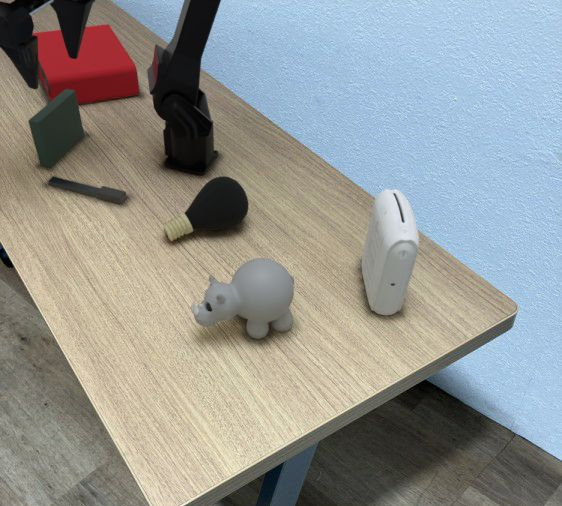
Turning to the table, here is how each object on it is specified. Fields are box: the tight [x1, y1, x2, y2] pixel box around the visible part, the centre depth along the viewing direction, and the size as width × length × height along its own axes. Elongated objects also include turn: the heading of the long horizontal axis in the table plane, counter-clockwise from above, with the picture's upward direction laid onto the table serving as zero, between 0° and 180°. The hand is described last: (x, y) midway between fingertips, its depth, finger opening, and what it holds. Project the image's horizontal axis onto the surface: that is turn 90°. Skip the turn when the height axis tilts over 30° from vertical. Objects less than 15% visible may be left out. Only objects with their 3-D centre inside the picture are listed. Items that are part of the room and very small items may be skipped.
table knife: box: [47, 176, 128, 205], centre depth 86 cm, size 11×2×1 cm, turn 72°
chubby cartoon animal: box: [190, 257, 295, 340], centre depth 69 cm, size 7×12×8 cm, turn 112°
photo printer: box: [361, 188, 420, 316], centre depth 73 cm, size 10×4×12 cm, turn 4°
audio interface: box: [32, 23, 140, 105], centre depth 105 cm, size 18×14×5 cm
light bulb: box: [162, 176, 249, 242], centre depth 81 cm, size 7×7×12 cm
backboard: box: [27, 89, 85, 169], centre depth 90 cm, size 2×10×7 cm, turn 162°
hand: (54, 72), depth 80 cm, fingers open, 9 cm apart
